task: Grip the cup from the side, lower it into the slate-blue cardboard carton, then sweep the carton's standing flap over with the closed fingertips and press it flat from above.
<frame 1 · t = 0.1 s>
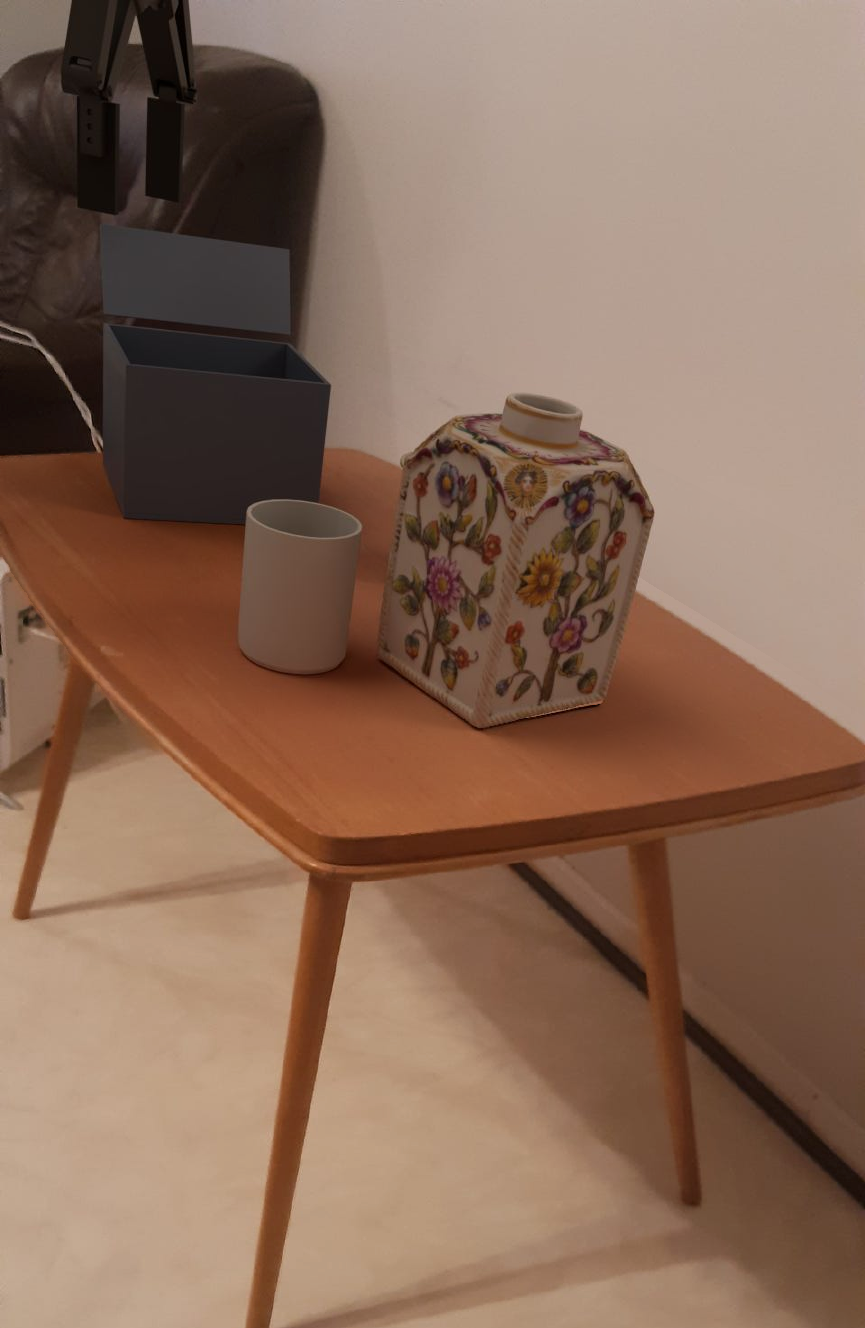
hand: (132, 205, 91), 21 cm above the table, tool pointing down, fingers open, 13 cm apart
cup: (285, 646, 82), on the table
flower pot: (442, 582, 97), on the table
carton: (206, 496, 104), on the table
flap: (198, 281, 102), point 15 cm above the table, hinge at 115.0°
decorative jar: (489, 685, 82), on the table
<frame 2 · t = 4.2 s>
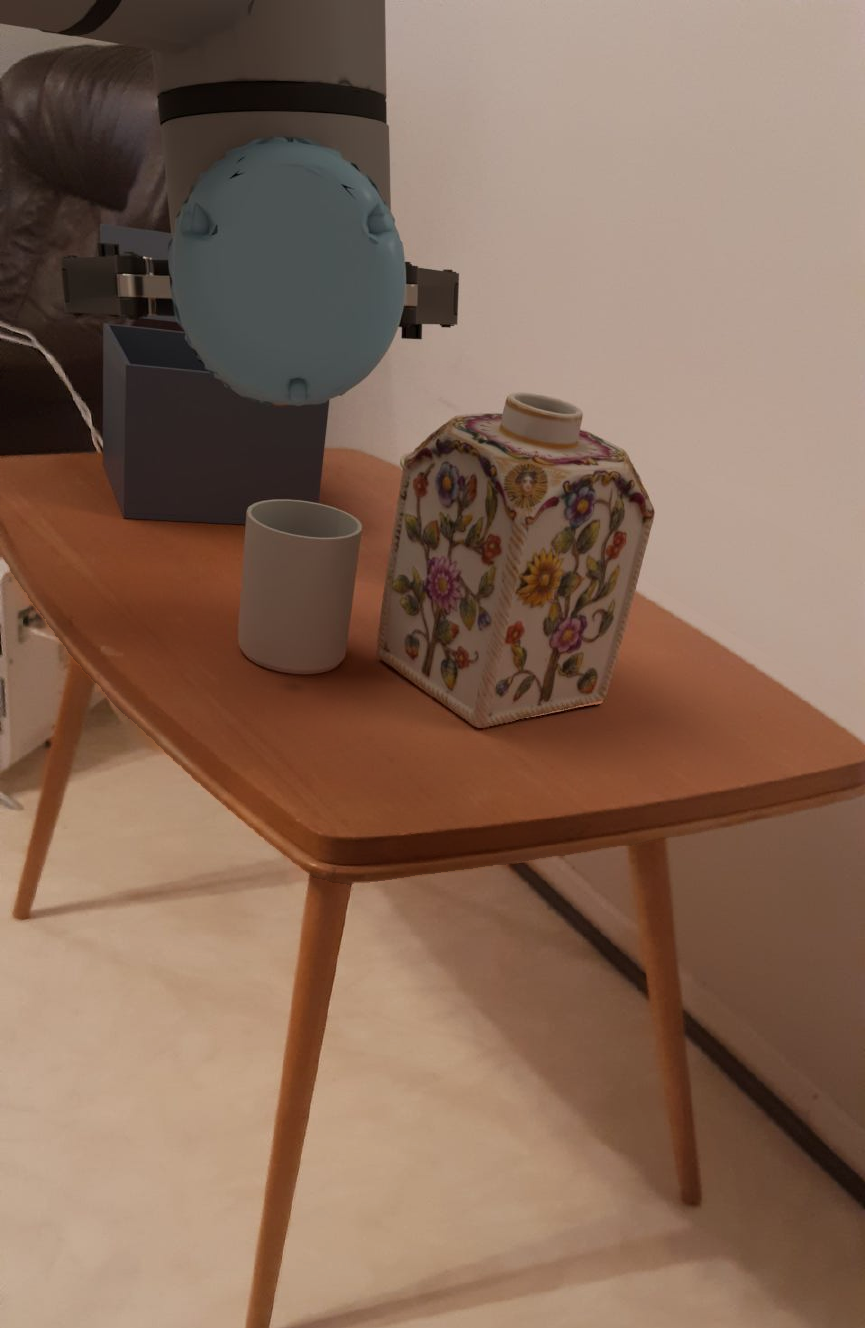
hand: (261, 294, 70), 21 cm above the table, tool horizontal, fingers open, 13 cm apart
nothing on the table moved.
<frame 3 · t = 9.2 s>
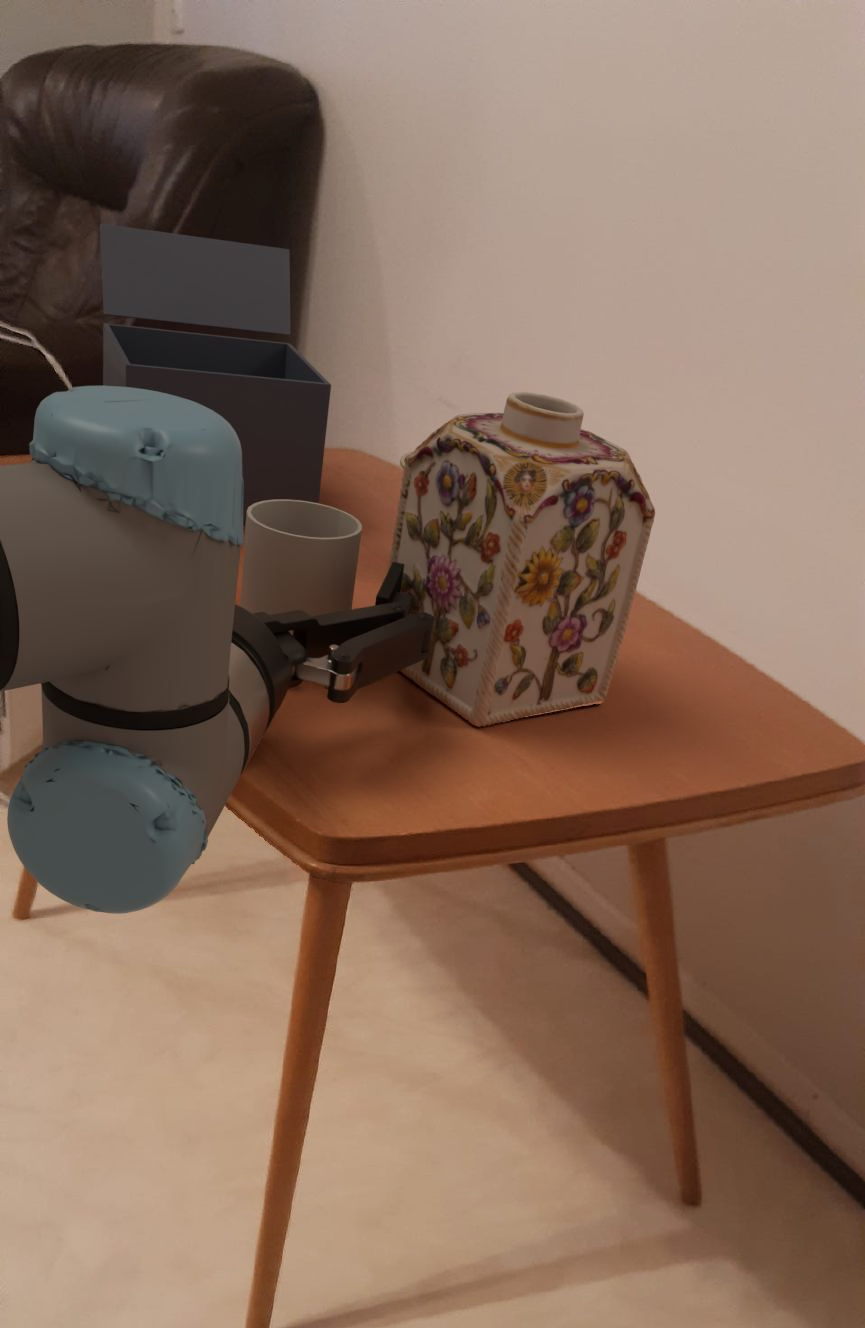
hand: (291, 561, 78), 6 cm above the table, tool horizontal, fingers open, 13 cm apart
decorative jar: (489, 684, 82), on the table, touching gripper
everything else where it was.
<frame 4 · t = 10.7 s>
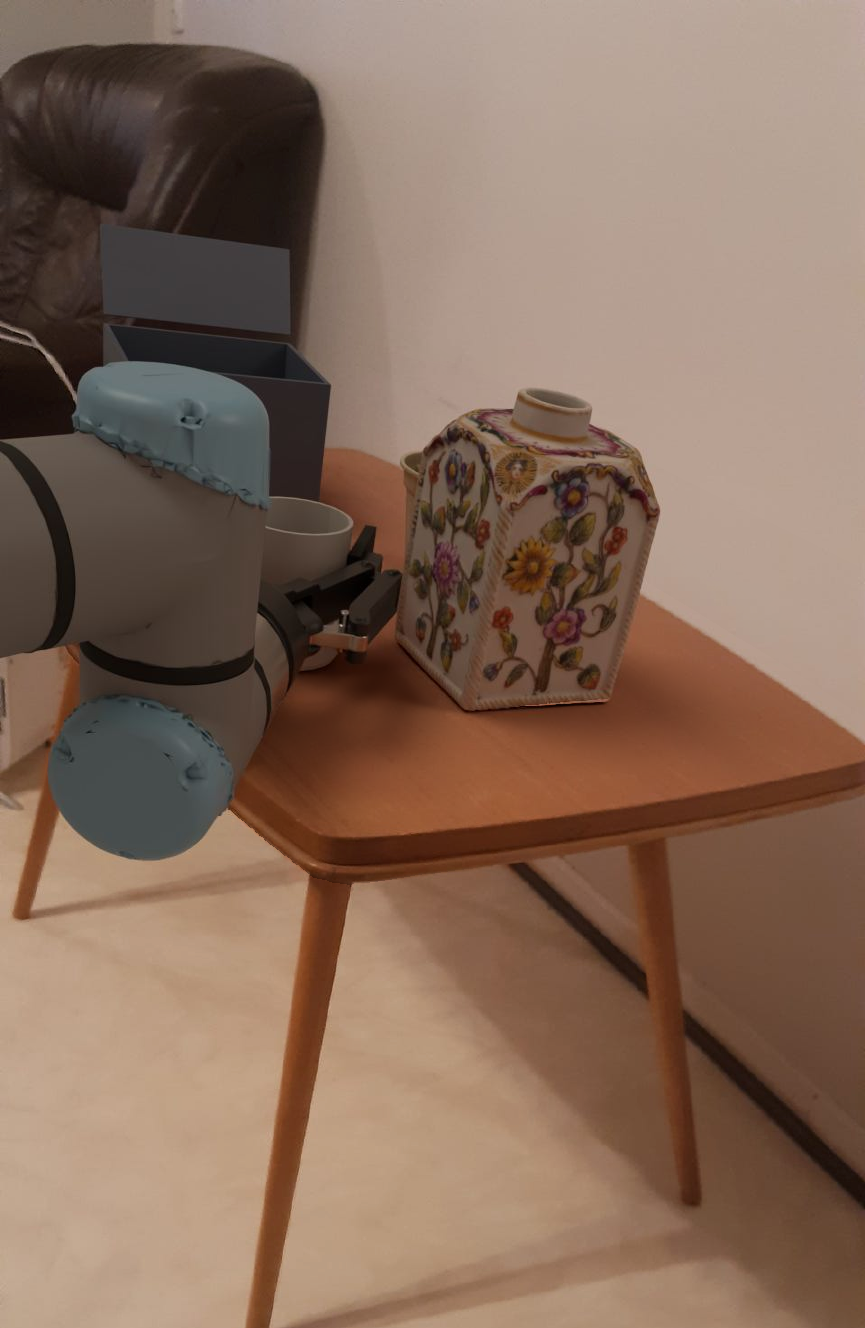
hand: (310, 534, 82), 6 cm above the table, tool horizontal, fingers closed on cup, 7 cm apart
cup: (277, 643, 82), on the table, touching gripper
decorative jar: (499, 675, 84), on the table
everything else where it was.
when the fingers open (14 cm above the table, at t = 20.9 s): cup drops 8 cm, resting on carton.
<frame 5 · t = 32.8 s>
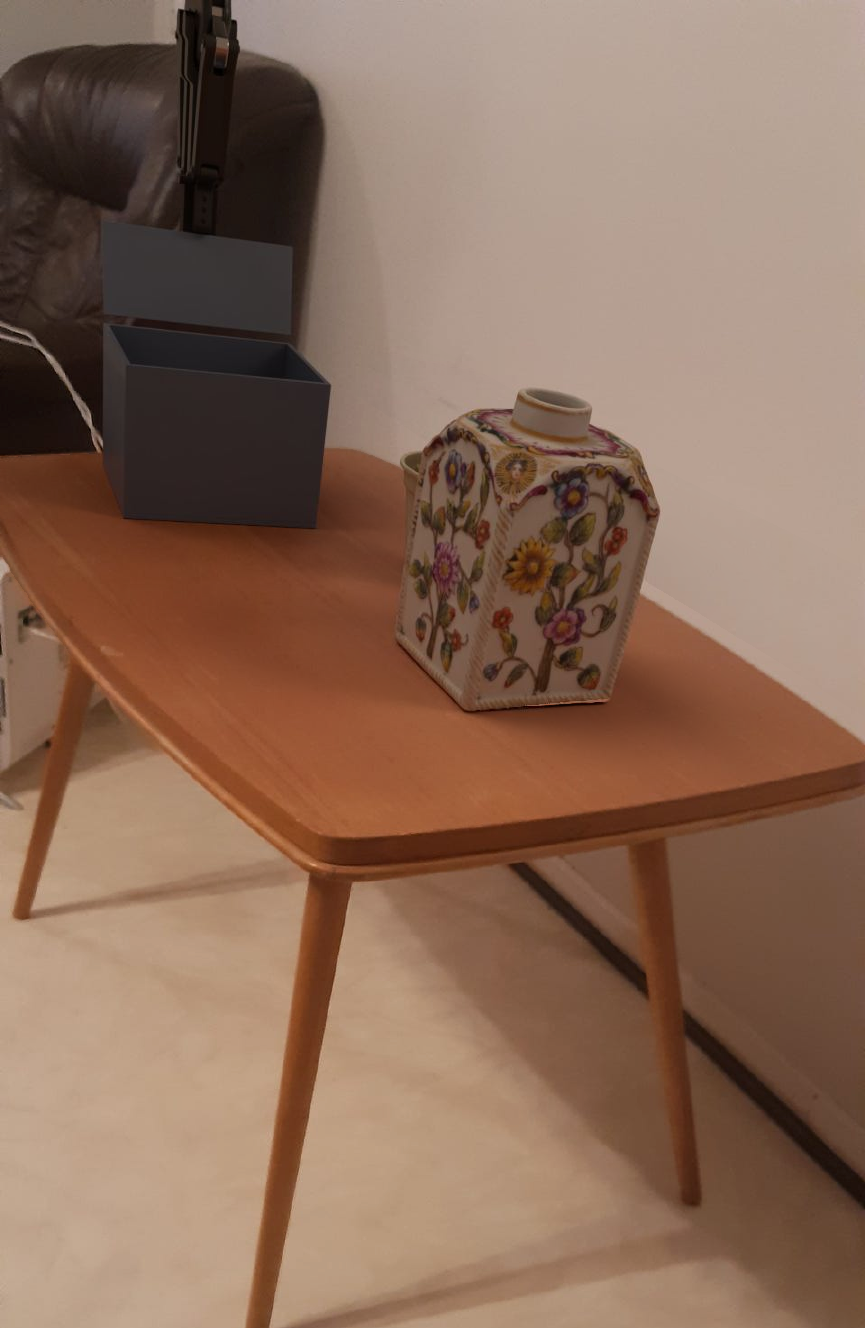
hand: (195, 274, 103), 15 cm above the table, tool pointing down, fingers closed
cup: (205, 491, 105), resting on carton
flap: (199, 280, 101), point 15 cm above the table, hinge at 105.3°, touching gripper
everything else where it was.
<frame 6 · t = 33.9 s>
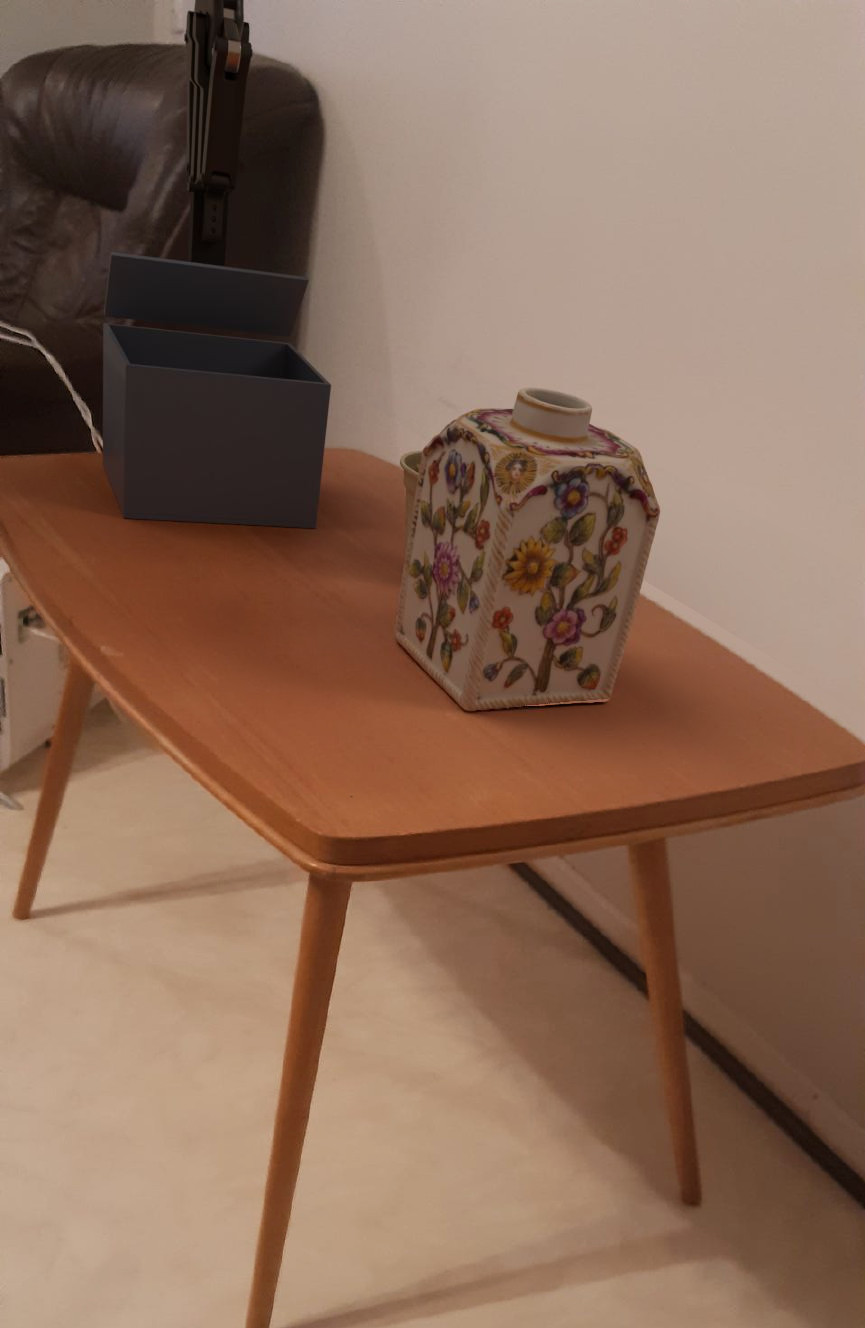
hand: (205, 285, 99), 15 cm above the table, tool pointing down, fingers closed
flap: (206, 296, 99), point 15 cm above the table, hinge at 50.2°, touching gripper
everything else where it was.
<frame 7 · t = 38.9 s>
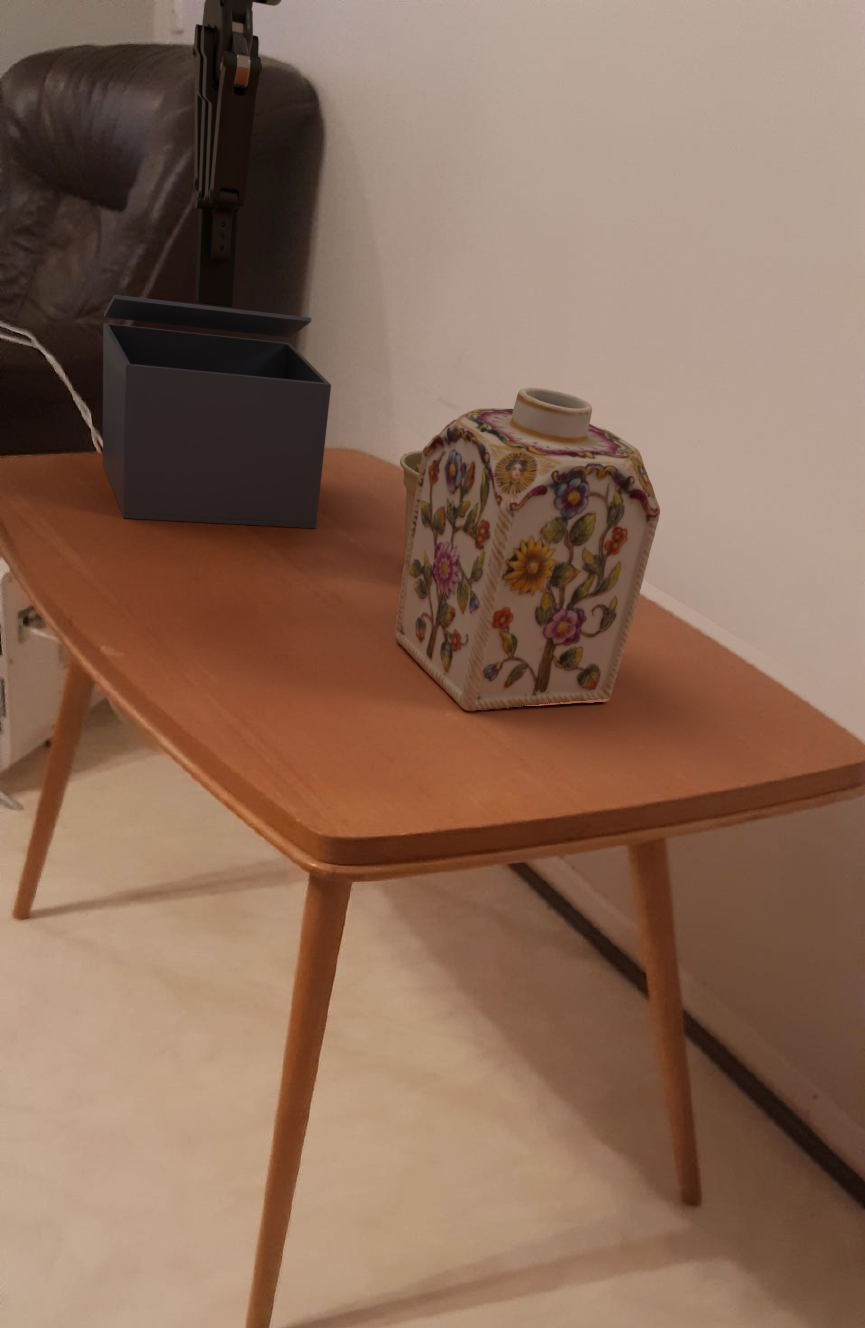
hand: (213, 302, 97), 15 cm above the table, tool pointing down, fingers closed
flap: (207, 317, 100), point 13 cm above the table, hinge at 22.2°, touching gripper
everything else where it was.
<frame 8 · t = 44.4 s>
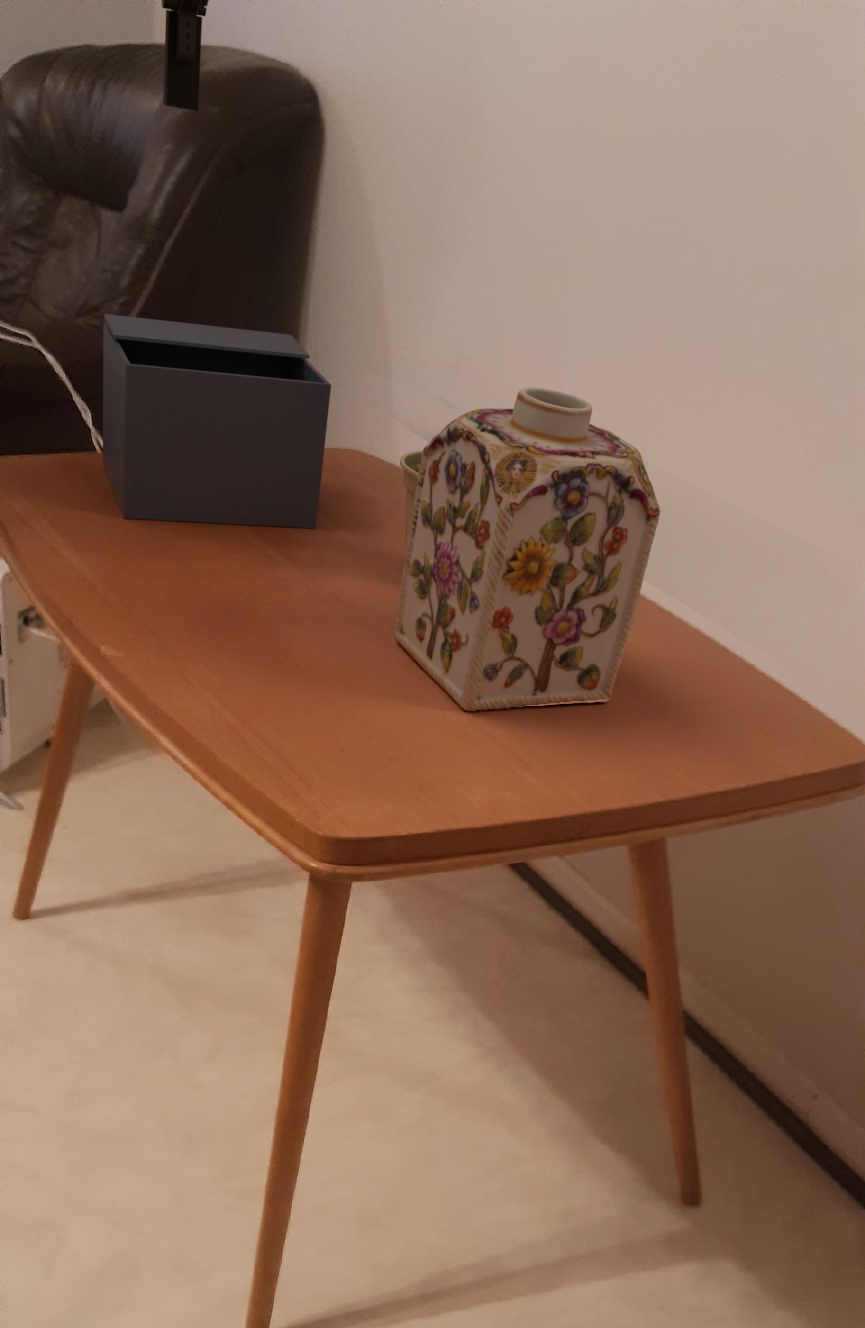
hand: (180, 107, 104), 26 cm above the table, tool pointing down, fingers closed
flap: (207, 336, 100), point 12 cm above the table, hinge at -1.1°
everything else where it was.
at the end: cup inside the target area in the carton (0.4 cm from its centre), point 0.2 cm above the carton's base; flap at -1° (first picture: +115°) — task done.
